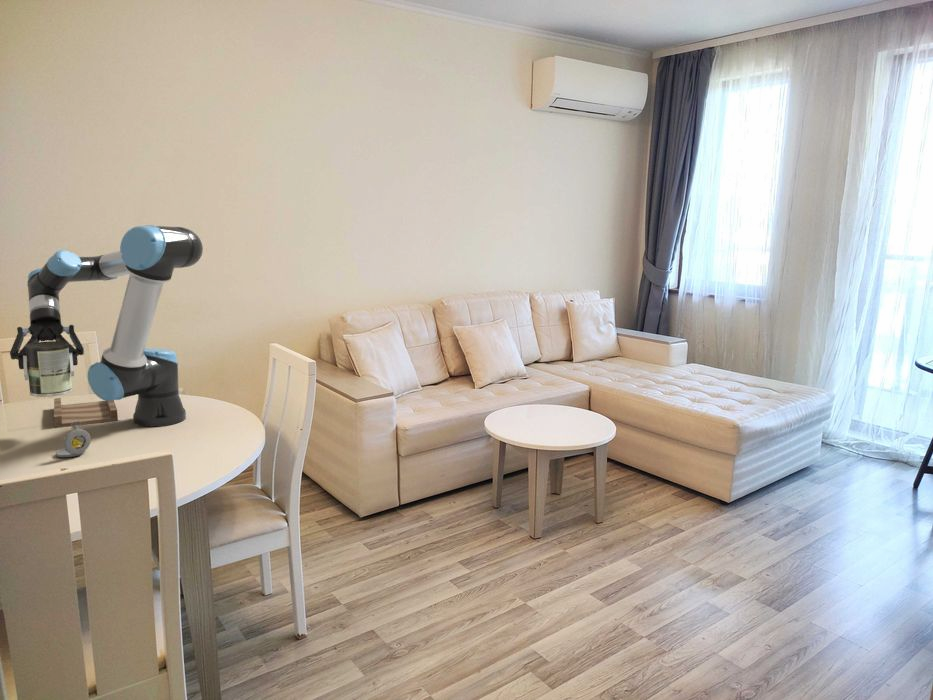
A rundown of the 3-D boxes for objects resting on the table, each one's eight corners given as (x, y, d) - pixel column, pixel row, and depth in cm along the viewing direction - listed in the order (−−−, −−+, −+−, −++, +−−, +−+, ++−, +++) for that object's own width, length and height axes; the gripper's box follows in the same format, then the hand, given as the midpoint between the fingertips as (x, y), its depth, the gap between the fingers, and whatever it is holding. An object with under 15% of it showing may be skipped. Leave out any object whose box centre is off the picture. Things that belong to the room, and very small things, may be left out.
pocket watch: (65, 450, 165) (61, 414, 163) (97, 450, 166) (94, 415, 164) (47, 460, 157) (43, 423, 155) (81, 460, 158) (78, 424, 156)
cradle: (55, 408, 203) (54, 398, 202) (112, 402, 212) (111, 393, 211) (55, 427, 183) (54, 416, 183) (117, 420, 192) (117, 409, 192)
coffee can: (21, 396, 168) (16, 347, 165) (42, 388, 178) (38, 341, 175) (60, 396, 169) (56, 347, 167) (79, 388, 179) (75, 341, 177)
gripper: (89, 320, 189) (96, 378, 179) (-1, 323, 176) (0, 387, 166) (89, 304, 184) (96, 364, 174) (-5, 307, 171) (-3, 372, 161)
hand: (49, 375), depth 170 cm, fingers closed on coffee can, 10 cm apart
